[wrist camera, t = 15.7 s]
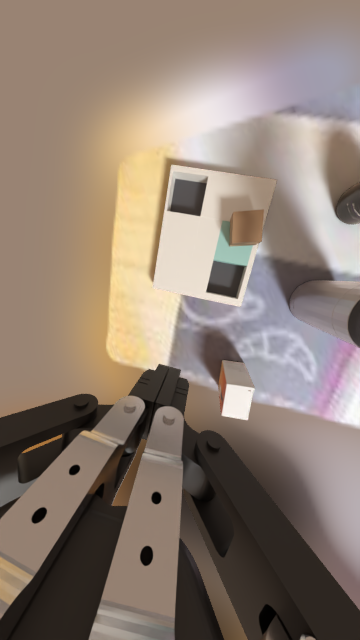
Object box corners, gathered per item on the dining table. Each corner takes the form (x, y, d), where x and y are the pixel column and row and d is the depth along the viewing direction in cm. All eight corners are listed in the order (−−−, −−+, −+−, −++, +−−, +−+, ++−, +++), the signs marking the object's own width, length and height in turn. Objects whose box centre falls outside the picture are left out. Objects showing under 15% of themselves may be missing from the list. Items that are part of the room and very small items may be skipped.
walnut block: (257, 217, 34) (264, 209, 30) (255, 245, 36) (261, 241, 31) (230, 219, 35) (233, 211, 31) (229, 246, 36) (232, 242, 32)
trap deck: (271, 187, 35) (277, 179, 33) (238, 304, 42) (240, 306, 39) (174, 173, 37) (171, 164, 34) (156, 287, 44) (152, 288, 41)
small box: (222, 359, 45) (226, 382, 35) (244, 362, 45) (255, 387, 35) (217, 386, 47) (220, 416, 37) (239, 390, 47) (248, 421, 37)
